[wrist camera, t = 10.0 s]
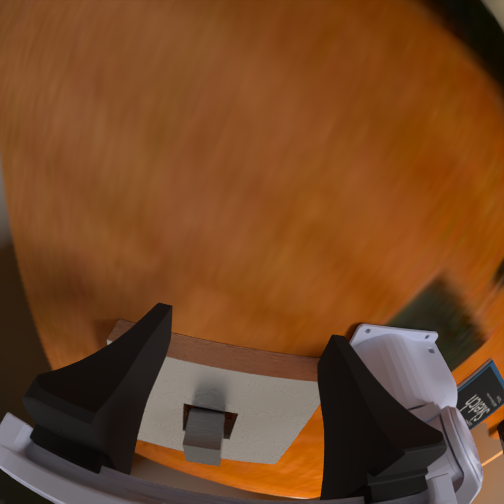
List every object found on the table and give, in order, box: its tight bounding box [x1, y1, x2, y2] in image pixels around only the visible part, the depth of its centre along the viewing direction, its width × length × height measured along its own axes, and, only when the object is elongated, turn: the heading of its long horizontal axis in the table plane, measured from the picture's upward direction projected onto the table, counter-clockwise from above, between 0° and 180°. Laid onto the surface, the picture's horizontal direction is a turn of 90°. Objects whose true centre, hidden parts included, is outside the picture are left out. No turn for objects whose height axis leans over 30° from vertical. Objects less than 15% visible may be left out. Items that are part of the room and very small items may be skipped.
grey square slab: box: [107, 319, 320, 464], centre depth 28 cm, size 20×20×3 cm
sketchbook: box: [456, 358, 504, 430], centre depth 34 cm, size 22×30×2 cm
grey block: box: [182, 406, 225, 466], centre depth 26 cm, size 4×4×8 cm
